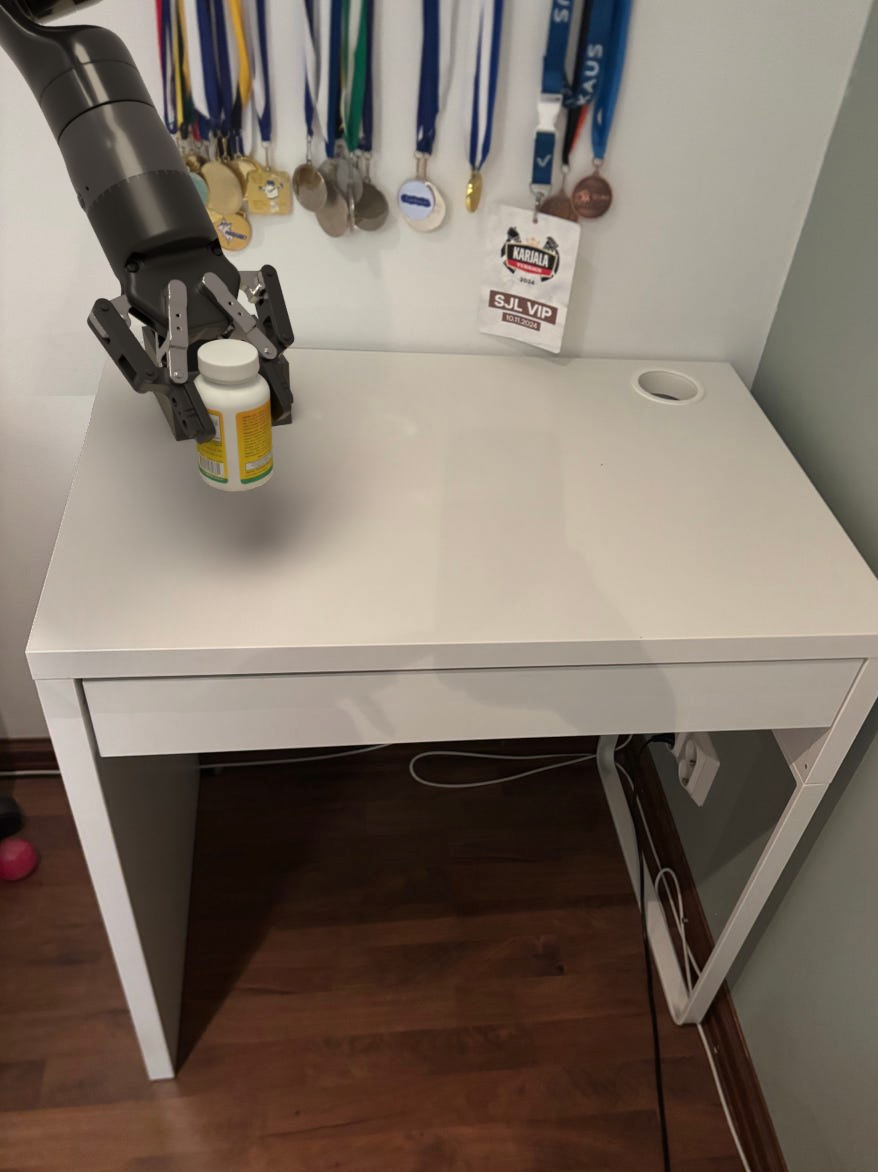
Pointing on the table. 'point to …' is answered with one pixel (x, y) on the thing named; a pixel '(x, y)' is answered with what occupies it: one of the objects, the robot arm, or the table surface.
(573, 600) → the table surface
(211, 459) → the supplement bottle
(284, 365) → the basket
